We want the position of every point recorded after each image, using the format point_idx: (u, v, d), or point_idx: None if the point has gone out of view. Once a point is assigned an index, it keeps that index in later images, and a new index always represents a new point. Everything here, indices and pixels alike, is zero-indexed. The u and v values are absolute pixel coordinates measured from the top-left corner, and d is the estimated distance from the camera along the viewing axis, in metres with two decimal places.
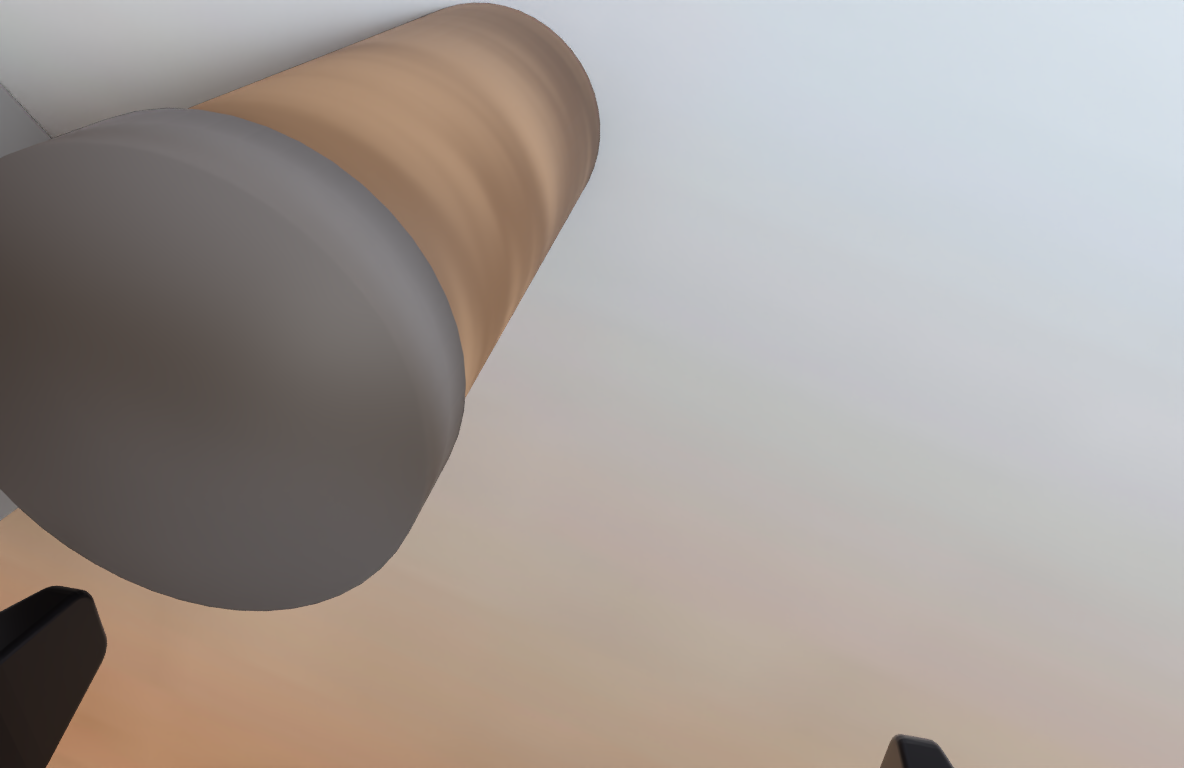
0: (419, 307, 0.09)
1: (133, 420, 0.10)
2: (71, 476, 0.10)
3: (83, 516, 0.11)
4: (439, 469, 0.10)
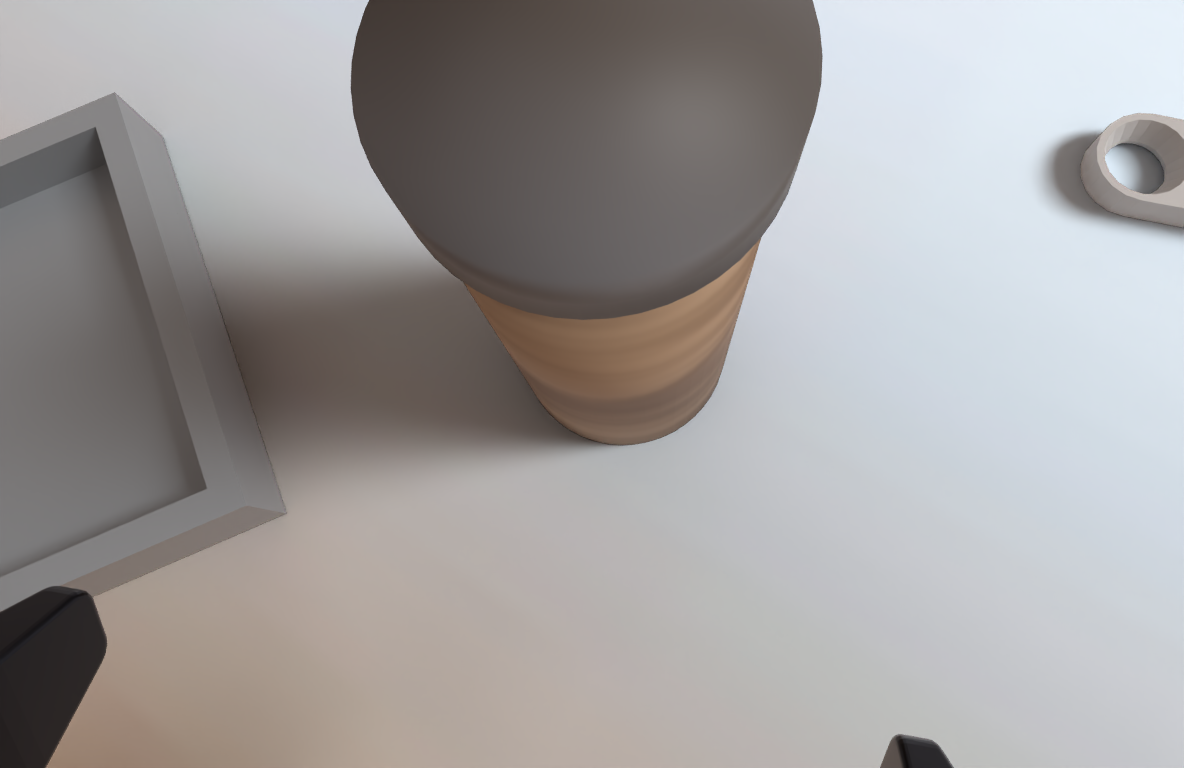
0: None
1: (542, 64, 0.11)
2: (443, 113, 0.11)
3: (427, 156, 0.11)
4: (784, 191, 0.11)
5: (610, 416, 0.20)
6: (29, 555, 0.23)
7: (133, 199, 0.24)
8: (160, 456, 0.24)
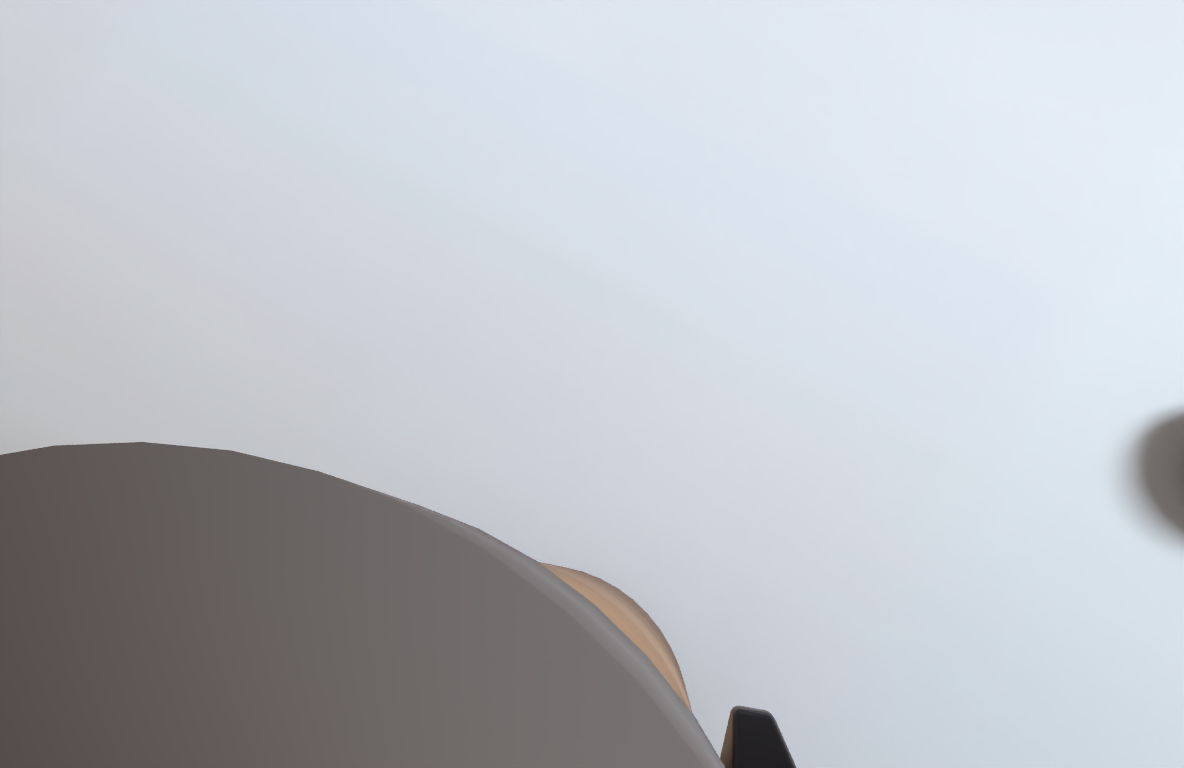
0: None
1: None
2: None
3: None
4: None
5: None
6: None
7: None
8: None
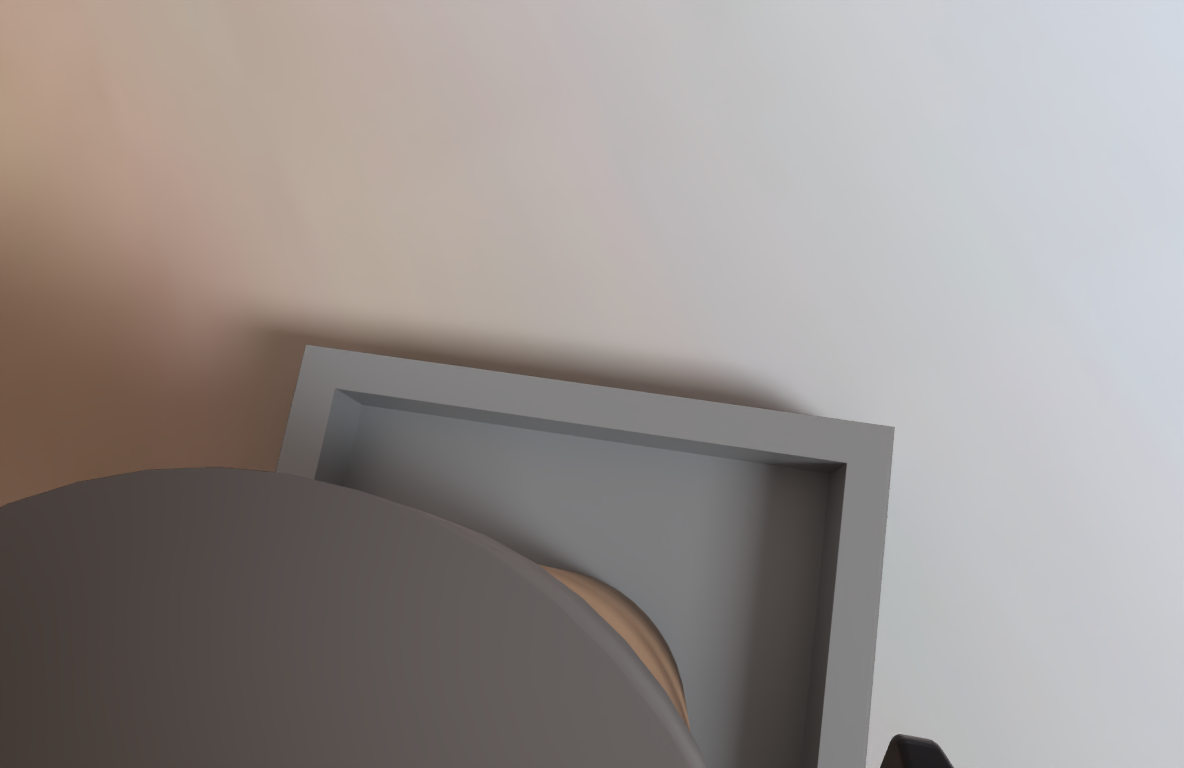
0: None
1: None
2: None
3: None
4: None
5: None
6: None
7: (855, 608, 0.16)
8: None
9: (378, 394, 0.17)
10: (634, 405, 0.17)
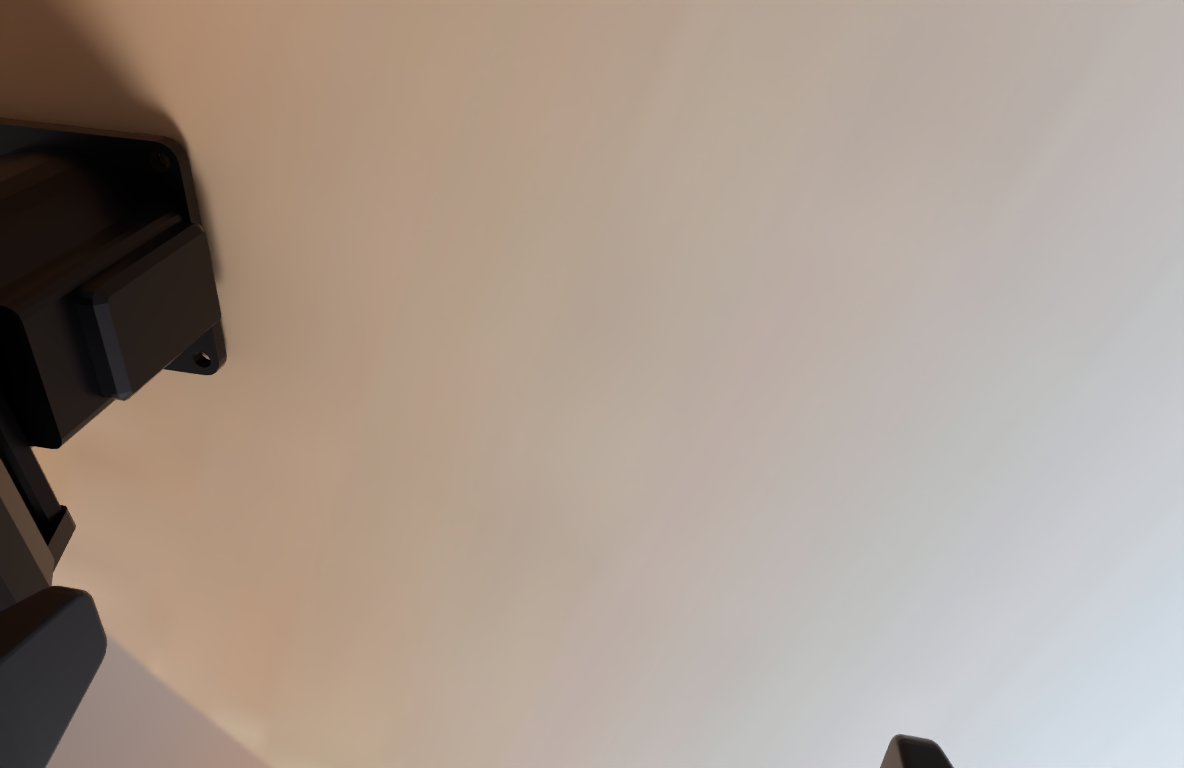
0: None
1: None
2: None
3: None
4: None
5: None
6: None
7: None
8: None
9: None
10: None
